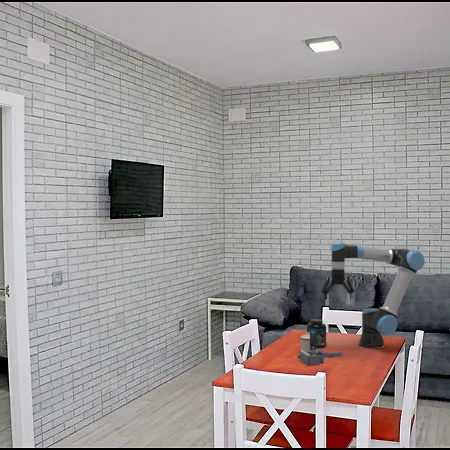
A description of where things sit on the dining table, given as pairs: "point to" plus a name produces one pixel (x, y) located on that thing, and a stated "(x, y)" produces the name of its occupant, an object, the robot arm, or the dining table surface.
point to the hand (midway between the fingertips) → (337, 304)
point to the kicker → (313, 346)
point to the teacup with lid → (305, 342)
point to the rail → (329, 354)
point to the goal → (309, 358)
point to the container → (318, 332)
